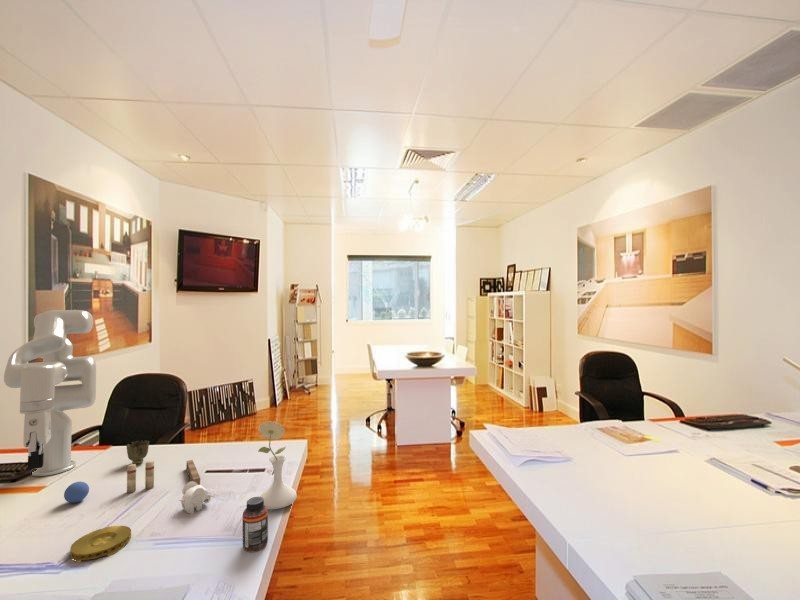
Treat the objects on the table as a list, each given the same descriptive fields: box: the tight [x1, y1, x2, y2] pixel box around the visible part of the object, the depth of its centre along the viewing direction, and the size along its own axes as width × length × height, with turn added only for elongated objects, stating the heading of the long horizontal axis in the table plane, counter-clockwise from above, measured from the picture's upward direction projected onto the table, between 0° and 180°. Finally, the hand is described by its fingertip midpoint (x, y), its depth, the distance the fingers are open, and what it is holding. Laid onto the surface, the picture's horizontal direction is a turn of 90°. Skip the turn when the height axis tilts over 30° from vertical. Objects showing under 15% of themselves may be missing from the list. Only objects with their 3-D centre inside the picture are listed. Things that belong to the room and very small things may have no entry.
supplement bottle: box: [242, 496, 269, 553], centre depth 94 cm, size 6×6×11 cm
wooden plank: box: [185, 459, 201, 485], centre depth 135 cm, size 20×2×3 cm, turn 36°
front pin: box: [126, 463, 137, 494], centre depth 124 cm, size 2×2×8 cm
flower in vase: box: [257, 420, 298, 510], centre depth 116 cm, size 13×11×25 cm
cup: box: [125, 439, 150, 466], centre depth 148 cm, size 8×7×8 cm
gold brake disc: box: [69, 525, 132, 562], centre depth 95 cm, size 12×12×2 cm
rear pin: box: [144, 460, 155, 490], centre depth 127 cm, size 2×2×8 cm
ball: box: [63, 481, 90, 504], centre depth 118 cm, size 6×6×6 cm
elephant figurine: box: [178, 480, 215, 514], centre depth 113 cm, size 8×10×7 cm
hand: (35, 467), depth 112 cm, fingers closed
